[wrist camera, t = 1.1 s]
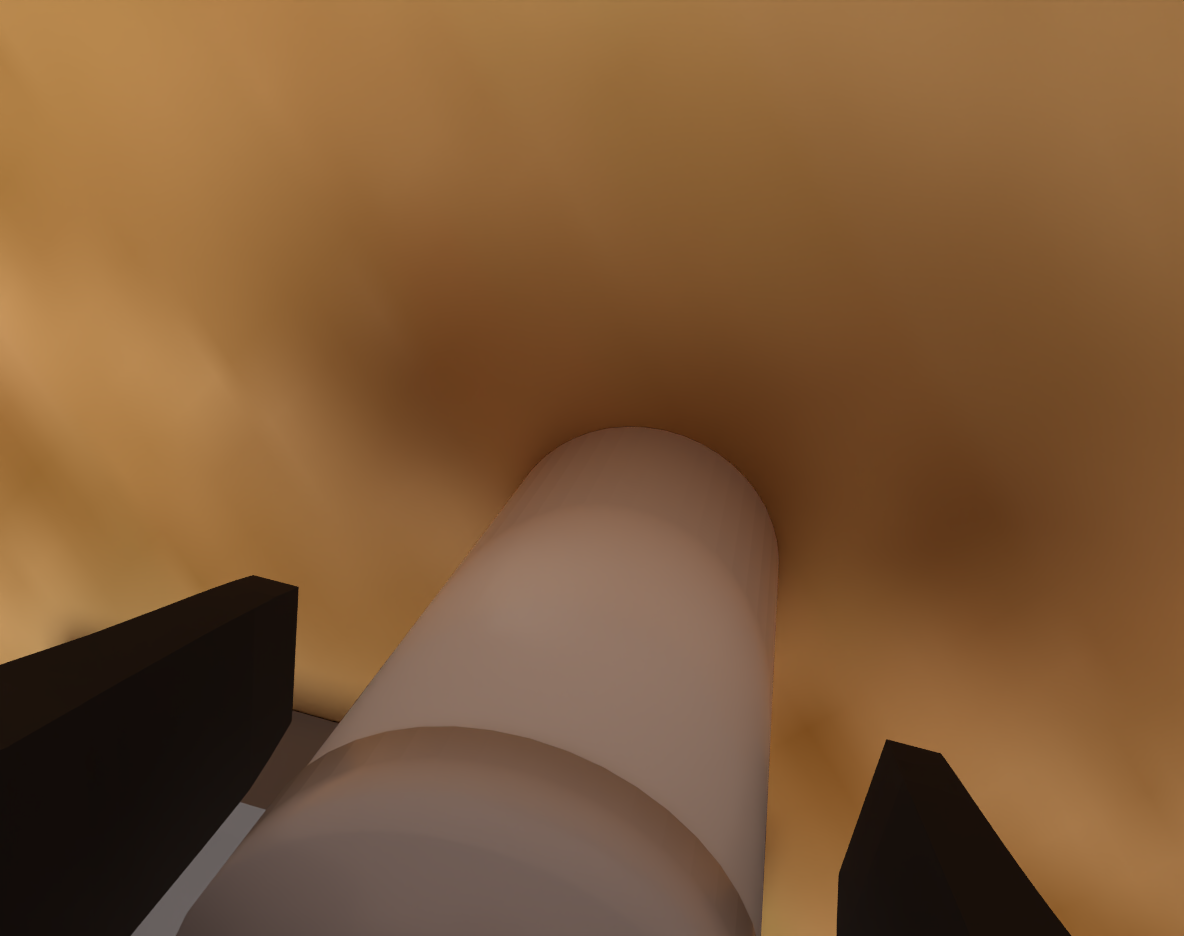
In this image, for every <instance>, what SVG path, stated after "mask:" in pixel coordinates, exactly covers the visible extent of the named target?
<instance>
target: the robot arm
mask: <svg viewBox="0 0 1184 936" xmlns="http://www.w3.org/2000/svg"><path fill="white" fill-rule="evenodd" d="M298 588H299V587H297V586H293V585H289V584H285V583H281V582H278V581H274V580H270V579H266V578H262V577H258V576H254V575H252V576H249V577H245V578H242V579H239V580H235V581H232V582H229V583H227V584H224V585H221V586H218V587H215V588H213V589H210V590H207V591H204V592H202V593H199V594H196V595H194V596H191V597H188V598H186V599H183V600H181V601H178V602H175V603H173V604H170V605H168V606H165V607H162V608H160V609H157V610H154V611H152V612H149V613H146V614H144V615H141V616H138V617H136V618H133V619H130V620H128V621H125V622H122V623H120V624H117V625H115V626H112V627H109V628H107V629H104V630H101V631H99V632H96V633H93V634H90V635H87V636H84V637H81V638H79V639H76V640H73V641H70V642H67V643H64V644H61V645H58V646H55V647H52V648H49V649H46V650H43V651H40V652H37V653H34V654H31V655H28V656H25V657H22V658H19V659H16V660H13V661H10V662H7V663H4V664H1V665H0V936H131V935H132V934H133V932H134V931H135V930H136V929H137V928H138V926H139V925H140V924H141V923H142V921H143V920H144V919H145V918H146V917H147V915H148V914H149V913H150V912H151V911H152V909H153V908H154V907H155V906H156V904H157V903H158V902H159V901H160V900H161V898H162V897H163V896H164V895H165V894H166V892H167V891H168V890H169V889H170V887H171V886H172V885H173V884H174V883H175V881H176V880H177V879H178V878H179V877H180V875H181V874H182V873H183V872H184V870H185V869H186V868H187V867H188V866H189V864H190V863H191V862H192V861H193V860H194V858H195V857H196V856H197V855H198V853H199V852H200V851H201V850H202V849H203V847H204V846H205V845H206V844H207V843H208V841H209V840H210V839H211V838H212V836H213V835H214V834H215V833H216V831H217V830H218V829H219V828H220V826H221V825H222V824H223V823H224V822H225V820H226V819H227V818H228V817H229V815H230V814H231V813H232V812H233V810H234V809H235V808H236V807H237V805H238V804H239V803H240V802H241V800H242V799H243V798H244V797H245V795H246V794H247V793H248V791H249V790H250V789H251V787H252V785H253V784H254V782H255V781H256V779H257V778H258V776H259V775H260V773H261V771H262V770H263V768H264V767H265V765H266V764H267V762H268V761H269V759H270V757H271V756H272V754H273V752H274V751H275V749H276V747H277V746H278V744H279V742H280V741H281V739H282V737H283V736H284V734H285V732H286V731H287V729H288V727H289V726H290V724H291V722H292V708H293V688H294V668H295V648H296V628H297V608H298ZM837 936H1071V935H1070V934H1069V932H1068V931H1067V930H1066V928H1065V927H1064V926H1063V924H1062V923H1061V922H1060V920H1059V919H1058V918H1057V917H1056V915H1055V914H1054V913H1053V911H1052V910H1051V909H1050V907H1049V906H1048V905H1047V903H1046V902H1045V901H1044V899H1043V898H1042V897H1041V895H1040V894H1039V893H1038V891H1037V890H1036V889H1035V887H1034V886H1033V884H1032V883H1031V882H1030V880H1029V879H1028V878H1027V876H1026V875H1025V873H1024V872H1023V871H1022V869H1021V868H1020V867H1019V865H1018V864H1017V862H1016V861H1015V860H1014V858H1013V857H1012V855H1011V854H1010V852H1009V851H1008V850H1007V848H1006V847H1005V845H1004V844H1003V843H1002V841H1001V840H1000V838H999V837H998V835H997V834H996V832H995V831H994V830H993V828H992V827H991V825H990V824H989V822H988V821H987V819H986V818H985V816H984V815H983V814H982V812H981V811H980V809H979V808H978V806H977V805H976V803H975V802H974V800H973V799H972V797H971V796H970V794H969V793H968V792H967V790H966V789H965V787H964V786H963V784H962V783H961V781H960V780H959V778H958V777H957V775H956V774H955V772H954V771H953V770H952V768H951V767H950V765H949V764H948V763H947V761H946V760H945V758H944V757H943V756H942V754H941V753H937V752H933V751H929V750H926V749H922V748H918V747H914V746H910V745H906V744H902V743H899V742H895V741H891V740H887V739H886V742H885V745H884V747H883V750H882V753H881V756H880V759H879V762H878V764H877V767H876V770H875V773H874V776H873V779H872V781H871V784H870V787H869V790H868V793H867V796H866V798H865V801H864V804H863V807H862V810H861V813H860V815H859V818H858V821H857V824H856V827H855V830H854V832H853V835H852V838H851V841H850V844H849V847H848V849H847V852H846V855H845V858H844V861H843V864H842V866H841V869H840V872H839V881H838V906H837Z"/></svg>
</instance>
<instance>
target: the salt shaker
mask: <svg viewBox="0 0 1184 936" xmlns="http://www.w3.org/2000/svg"><path fill="white" fill-rule="evenodd" d="M778 570H779V554H778V545H777V539H776V535H775V531H774V527H773V524H772V522H771V519H770V517H769V514H768V512H767V509H766V507H765V506H764V504H763V502H762V500H761V499H760V497H759V495H758V493H757V492H756V491H755V489H754V488H753V487H752V486H751V484H750V483H749V482H748V480H747V479H746V478H745V477H744V476H743V475H742V474H741V473H740V472H739V471H738V470H737V469H736V468H735V467H734V466H733V465H732V464H731V463H729V462H728V461H727V460H726V459H724V458H723V457H722V456H720V455H719V454H718V453H716V452H714V451H713V450H711V449H709V448H708V447H706V446H704V445H703V444H701V443H699V442H696V441H694V440H692V439H689V438H687V437H685V436H682V435H679V434H675V433H672V432H669V431H665V430H660V429H653V428H647V427H617V428H607V429H603V430H598V431H594V432H590V433H587V434H585V435H582V436H579V437H576V438H574V439H572V440H570V441H568V442H566V443H564V444H563V445H561V446H559V447H557V448H556V449H555V450H553V451H552V452H550V453H549V454H548V455H546V456H545V457H544V458H543V459H542V460H541V461H540V462H539V463H538V464H537V465H536V466H535V467H534V468H533V469H532V470H531V471H530V473H529V474H528V475H527V477H526V478H525V479H524V481H523V482H522V483H521V484H520V486H519V487H518V488H517V490H516V491H515V492H514V494H513V495H512V496H511V498H510V499H509V500H508V502H507V503H506V504H505V506H504V507H503V508H502V510H501V511H500V512H499V513H498V515H497V516H496V517H495V519H494V520H493V521H492V523H491V524H490V525H489V527H488V528H487V529H486V531H485V532H484V533H483V535H482V536H481V537H480V539H479V540H478V541H477V542H476V544H475V545H474V546H473V548H472V549H471V550H470V552H469V553H468V554H467V556H466V557H465V558H464V560H463V561H462V562H461V564H460V565H459V566H458V567H457V569H456V570H455V571H454V573H453V574H452V575H451V577H450V578H449V579H448V581H447V582H446V583H445V585H444V586H443V587H442V589H441V590H440V591H439V593H438V594H437V595H436V596H435V598H434V599H433V600H432V602H431V603H430V604H429V606H428V607H427V608H426V610H425V611H424V612H423V614H422V615H421V616H420V618H419V619H418V620H417V621H416V623H415V624H414V625H413V627H412V628H411V629H410V631H409V632H408V633H407V635H406V636H405V637H404V639H403V640H402V641H401V643H400V644H399V645H398V647H397V648H396V649H395V650H394V652H393V653H392V654H391V656H390V657H389V658H388V660H387V661H386V662H385V664H384V665H383V666H382V668H381V669H380V670H379V672H378V673H377V674H376V676H375V677H374V678H373V679H372V681H371V682H370V683H369V685H368V686H367V687H366V689H365V690H364V691H363V693H362V694H361V695H360V697H359V698H358V699H357V701H356V702H355V703H354V704H353V706H352V707H351V708H350V710H349V711H348V712H347V714H346V715H345V716H344V718H343V719H342V720H341V722H340V723H339V724H338V726H337V727H336V728H335V730H334V731H333V732H332V733H331V735H330V736H329V737H328V739H327V740H326V741H325V743H324V744H323V745H322V747H321V748H320V749H319V751H318V752H317V753H316V755H315V756H314V757H313V758H312V760H311V761H310V762H309V764H308V765H307V766H306V767H304V768H303V769H302V770H301V771H300V772H299V773H298V774H297V775H296V776H295V777H294V778H292V779H291V780H290V781H289V782H288V783H287V784H286V785H285V786H284V787H283V789H282V790H281V791H280V792H279V794H278V795H277V796H276V798H275V799H274V800H273V802H272V803H271V804H270V805H269V807H268V808H267V809H266V811H265V812H264V813H263V815H262V816H261V817H260V818H259V820H258V821H257V822H256V824H255V825H254V826H253V828H252V829H251V830H250V831H249V833H248V834H247V835H246V837H245V838H244V839H243V841H242V842H241V843H240V844H239V846H238V847H237V848H236V850H235V851H234V852H233V854H232V855H231V856H230V857H229V859H228V860H227V861H226V863H225V864H224V865H223V866H222V868H221V869H220V870H219V872H218V873H217V874H216V876H215V877H214V878H213V879H212V881H211V882H210V883H209V885H208V886H207V887H206V889H205V890H204V891H203V892H202V894H201V895H200V896H199V898H198V899H197V900H196V902H195V903H194V904H193V906H192V907H191V908H190V910H189V911H188V912H187V914H186V916H185V918H184V920H183V922H182V924H181V926H180V928H179V930H178V932H177V934H176V936H761V922H762V902H763V881H764V860H765V839H766V819H767V798H768V777H769V757H770V736H771V715H772V694H773V674H774V653H775V632H776V612H777V591H778Z"/></svg>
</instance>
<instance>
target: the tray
mask: <svg viewBox="0 0 1184 936" xmlns="http://www.w3.org/2000/svg"><path fill="white" fill-rule="evenodd" d="M338 724H339V723H336V722H332V721H328V720H325V719H321V718H318V717H314V716H311V715H307V714H304V713H300V712H296V711H293V710H292V722H291V724H290V726H289V727H288V729H287V731H286V732H285V734H284V736H283V737H282V739H281V741H280V742H279V744H278V746H277V747H276V749H275V751H274V752H273V754H272V756H271V757H270V759H269V761H268V762H267V764H266V765H265V767H264V768H263V770H262V771H261V773H260V775H259V776H258V778H257V779H256V781H255V782H254V784H253V785H252V787H251V789H250V790H249V791H248V793H247V794H246V795H245V797H244V798H243V799H242V800H241V802H240V803H239V804H238V805H237V807H236V808H235V809H234V810H233V812H232V813H231V814H230V815H229V817H228V818H227V819H226V820H225V822H224V823H223V824H222V825H221V826H220V828H219V829H218V830H217V831H216V833H215V834H214V835H213V836H212V838H211V839H210V840H209V841H208V843H207V844H206V845H205V846H204V847H203V849H202V850H201V851H200V852H199V853H198V855H197V856H196V857H195V858H194V860H193V861H192V862H191V863H190V864H189V866H188V867H187V868H186V869H185V870H184V872H183V873H182V874H181V875H180V877H179V878H178V879H177V880H176V881H175V883H174V884H173V885H172V886H171V887H170V889H169V890H168V891H167V892H166V894H165V895H164V896H163V897H162V898H161V900H160V901H159V902H158V903H157V904H156V906H155V907H154V908H153V909H152V911H151V912H150V913H149V914H148V915H147V917H146V918H145V919H144V920H143V921H142V923H141V924H140V925H139V926H138V928H137V929H136V930H135V931H134V932H133V934H132V935H131V936H176V934H177V932H178V930H179V928H180V926H181V924H182V922H183V920H184V918H185V916H186V914H187V912H188V911H189V910H190V908H191V907H192V906H193V904H194V903H195V902H196V900H197V899H198V898H199V896H200V895H201V894H202V892H203V891H204V890H205V889H206V887H207V886H208V885H209V883H210V882H211V881H212V879H213V878H214V877H215V876H216V874H217V873H218V872H219V870H220V869H221V868H222V866H223V865H224V864H225V863H226V861H227V860H228V859H229V857H230V856H231V855H232V854H233V852H234V851H235V850H236V848H237V847H238V846H239V844H240V843H241V842H242V841H243V839H244V838H245V837H246V835H247V834H248V833H249V831H250V830H251V829H252V828H253V826H254V825H255V824H256V822H257V821H258V820H259V818H260V817H261V816H262V815H263V813H264V812H265V811H266V809H267V808H268V807H269V805H270V804H271V803H272V802H273V800H274V799H275V798H276V796H277V795H278V794H279V792H280V791H281V790H282V789H283V787H284V786H285V785H286V784H287V783H288V782H289V781H290V780H291V779H292V778H294V777H295V776H296V775H297V774H298V773H299V772H300V771H301V770H302V769H303V768H304V767H306V766H307V765H308V764H309V762H310V761H311V760H312V758H313V757H314V756H315V755H316V753H317V752H318V751H319V749H320V748H321V747H322V745H323V744H324V743H325V741H326V740H327V739H328V737H329V736H330V735H331V733H332V732H333V731H334V730H335V728H336V727H337V726H338Z"/></svg>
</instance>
